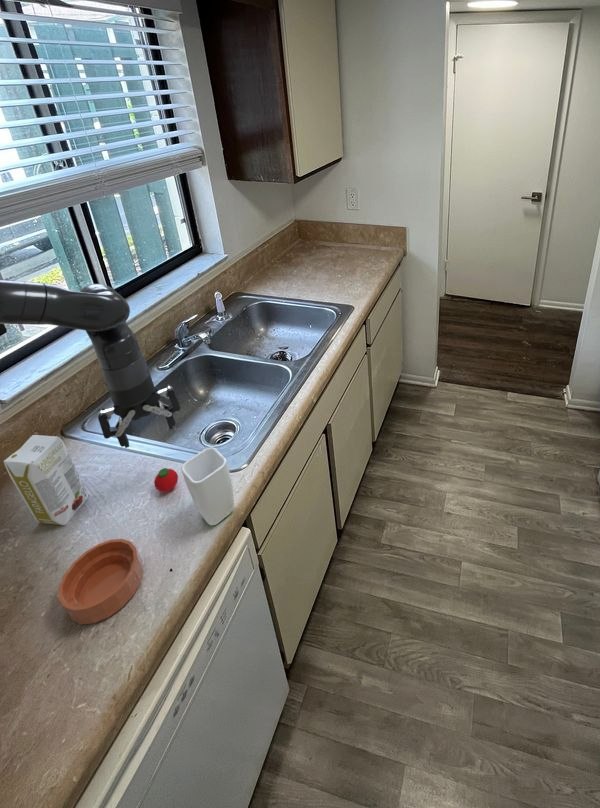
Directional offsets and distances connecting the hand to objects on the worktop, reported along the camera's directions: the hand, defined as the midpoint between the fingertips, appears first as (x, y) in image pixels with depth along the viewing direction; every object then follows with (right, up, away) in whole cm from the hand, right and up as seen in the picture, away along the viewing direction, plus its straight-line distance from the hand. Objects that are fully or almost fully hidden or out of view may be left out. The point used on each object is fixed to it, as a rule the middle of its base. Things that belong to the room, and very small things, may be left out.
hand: (149, 435), depth 95 cm
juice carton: (-20, -17, +2) cm, 26 cm away
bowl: (-1, -24, -13) cm, 27 cm away
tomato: (+1, -15, +7) cm, 16 cm away
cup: (+15, -17, +1) cm, 23 cm away
